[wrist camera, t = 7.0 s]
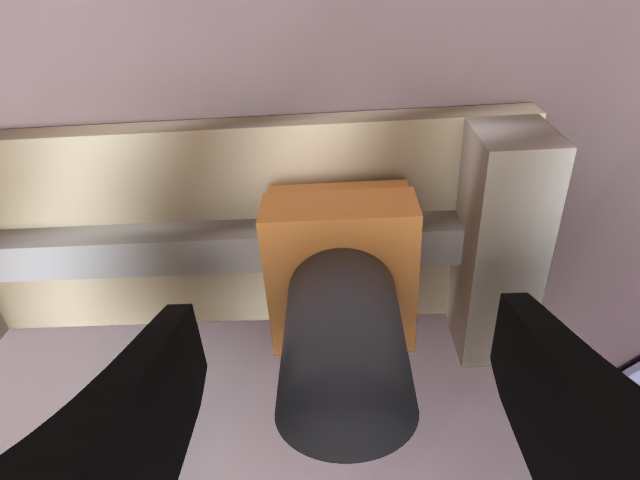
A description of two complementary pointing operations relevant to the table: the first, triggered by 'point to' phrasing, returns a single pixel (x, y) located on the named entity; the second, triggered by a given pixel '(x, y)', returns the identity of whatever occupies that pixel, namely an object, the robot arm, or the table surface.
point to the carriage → (343, 314)
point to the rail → (244, 201)
